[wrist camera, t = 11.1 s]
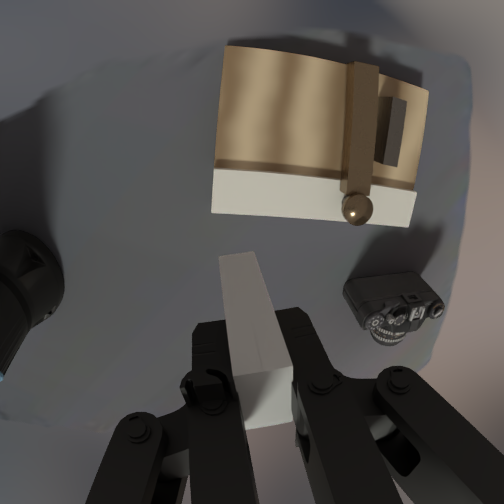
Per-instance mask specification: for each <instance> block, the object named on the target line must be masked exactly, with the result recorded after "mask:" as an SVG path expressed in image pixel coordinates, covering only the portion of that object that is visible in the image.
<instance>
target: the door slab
mask: <svg viewBox="0 0 504 504" xmlns="http://www.w3.org/2000/svg"><path fill="white" fill-rule="evenodd" d="M346 87H347V64H342V63H338V62H334V61H330V60H325V59H320V58H316V57H311V56H305V55H300V54H294V53H288V52H281V51H274V50H267V49H259V48H249V47H239V46H226V45H225V52H224V61H223V70H222V80H221V90H220V100H219V111H218V123H217V135H216V148H215V161H214V168H231V169H246V170H259V171H271V172H283V173H293V174H303V175H312V176H320V177H329V178H337V179H341V170H342V158H343V145H344V130H345V112H346ZM428 94H429V91H428V90H425V89H422V88H420V87H417V86H414V85H412V84H409V83H406V82H403V81H400V80H398V79H395V78H392V77H388V76H385V75H382V74H379V91H378V97H396V98H399V99H402V100H405V101H407V107H406V115H405V122H404V129H403V136H402V143H401V149H400V155H399V160H398V166H397V167H393V166H388V165H383V164H380V163H378V162H375V161H374V163H373V172H372V181H371V183H372V184H379V185H385V186H391V187H397V188H403V189H408V190H413V188H414V183H415V179H416V174H417V168H418V163H419V158H420V152H421V146H422V140H423V134H424V127H425V120H426V112H427V103H428Z"/></svg>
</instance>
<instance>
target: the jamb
mask: <svg viewBox="0 0 504 504" xmlns="http://www.w3.org/2000/svg"><path fill="white" fill-rule="evenodd" d="M340 180H341V179H337V178H329V177H320V176H312V175H303V174H293V173H283V172H271V171H259V170H246V169H231V168H214V176H213V192H212V210H211V213H223V214H242V215H260V216H276V217H292V218H306V219H319V220H332V221H344V222H348V221H347V220H346V219H345V218H344V217H343V215H342V211H341V207H342V203H343V201H344V200H345V198H346V197H347V196H348V195H345V194H344V193H342V192H341V191H340ZM416 195H417V192H415V191H413V190H408V189H403V188H397V187H391V186H385V185H379V184H372V183H371V189H370V196H367V197H368V198H369V199H370V200H371V201H372V203H373V214H372V216H371V218H370V219H369V220H368V221H367V222H366V223H367V224H378V225H389V226H399V227H409V223H410V219H411V216H412V212H413V207H414V203H415V199H416Z"/></svg>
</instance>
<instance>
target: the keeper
mask: <svg viewBox="0 0 504 504" xmlns="http://www.w3.org/2000/svg"><path fill="white" fill-rule="evenodd" d="M406 107H407V101H405V100H402V99H399V98H396V97H378V113H377V128H376V141H375V153H374V161H375V162H378V163H380V164H383V165H388V166H393V167H397V166H398V160H399V155H400V149H401V143H402V136H403V129H404V122H405V115H406Z"/></svg>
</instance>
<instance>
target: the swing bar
mask: <svg viewBox="0 0 504 504" xmlns="http://www.w3.org/2000/svg"><path fill="white" fill-rule="evenodd" d="M378 91H379V66H375V65H371V64H366V63H361V62H356V61H353V62H350V63H347V87H346V112H345V130H344V145H343V158H342V170H341V180H340V191H341V192H342V193H344V194H345V195H348V196H347V197H346V198H345V200H344V201H343V203H342V207H341V211H342V215H343V217H344V218H345V219H346V220H347V221H348V222H349V223H350V224H352V225H355V226H359V225H363V224H365V223H366V222H367V221H368V220H369V219H370V218H371V216H372V214H373V203H372V201H371V200H370V199H369V198H368V197H367V196H370V189H371V181H372V172H373V163H374V153H375V141H376V128H377V113H378Z"/></svg>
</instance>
